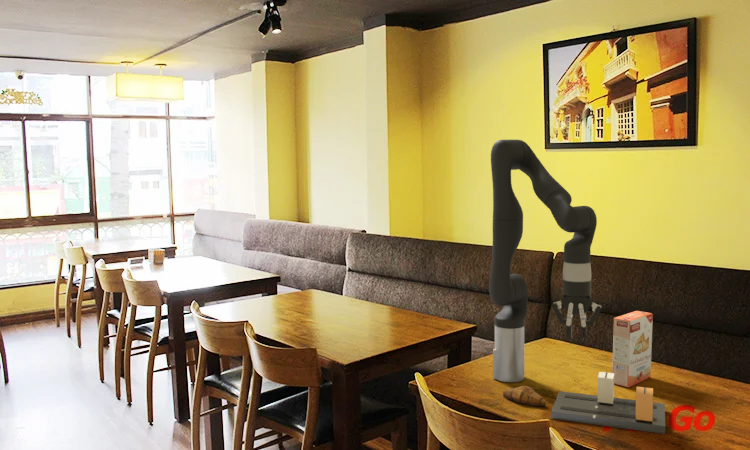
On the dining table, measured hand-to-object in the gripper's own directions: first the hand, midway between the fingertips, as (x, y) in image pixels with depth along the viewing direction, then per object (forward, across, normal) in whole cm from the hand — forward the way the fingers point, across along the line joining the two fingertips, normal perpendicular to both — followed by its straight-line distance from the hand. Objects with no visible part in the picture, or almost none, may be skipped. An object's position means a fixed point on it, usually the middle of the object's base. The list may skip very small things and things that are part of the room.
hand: (576, 338), depth 181 cm
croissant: (+20, -14, -3) cm, 24 cm away
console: (+19, +9, -4) cm, 22 cm away
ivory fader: (+17, +8, 0) cm, 19 cm away
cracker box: (+19, +14, +26) cm, 35 cm away
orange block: (+17, +18, -9) cm, 26 cm away
